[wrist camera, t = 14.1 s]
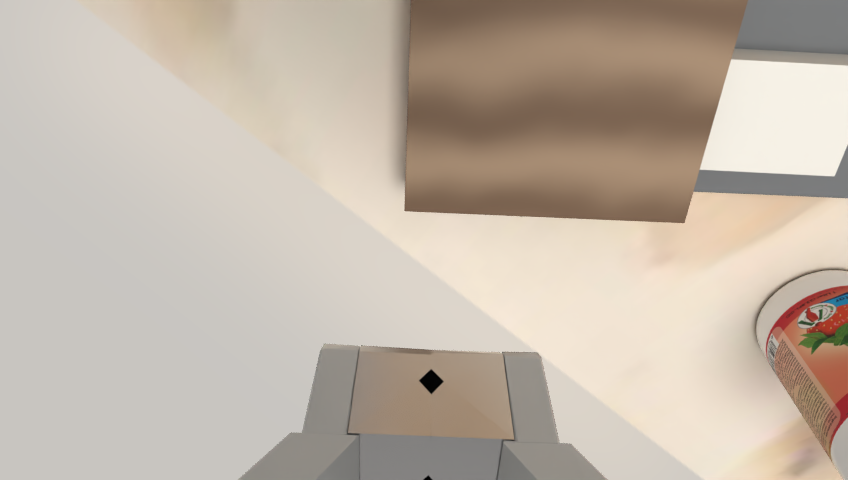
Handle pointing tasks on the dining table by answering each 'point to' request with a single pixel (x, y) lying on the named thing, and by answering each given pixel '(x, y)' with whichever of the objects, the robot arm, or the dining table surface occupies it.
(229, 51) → the dining table surface
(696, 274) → the dining table surface
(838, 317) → the fruit juice
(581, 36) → the board
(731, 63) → the tile
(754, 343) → the dining table surface
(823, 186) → the mat
